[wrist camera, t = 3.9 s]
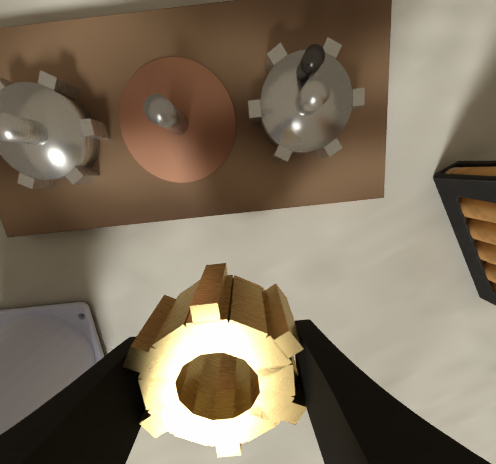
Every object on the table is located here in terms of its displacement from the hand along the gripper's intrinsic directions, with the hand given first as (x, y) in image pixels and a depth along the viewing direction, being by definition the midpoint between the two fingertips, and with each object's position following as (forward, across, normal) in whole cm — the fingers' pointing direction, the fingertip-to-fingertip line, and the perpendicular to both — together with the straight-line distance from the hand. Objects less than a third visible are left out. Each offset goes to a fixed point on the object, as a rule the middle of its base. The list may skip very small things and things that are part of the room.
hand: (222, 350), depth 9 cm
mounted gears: (+7, +2, -9) cm, 12 cm away
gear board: (+8, +2, -10) cm, 13 cm away
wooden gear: (+1, 0, 0) cm, 1 cm away
